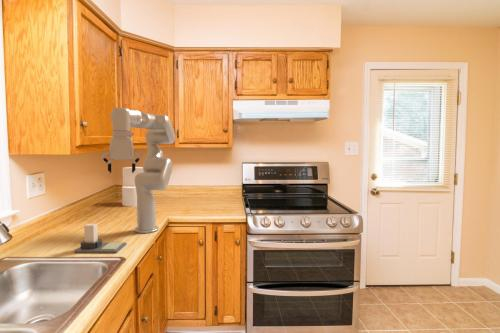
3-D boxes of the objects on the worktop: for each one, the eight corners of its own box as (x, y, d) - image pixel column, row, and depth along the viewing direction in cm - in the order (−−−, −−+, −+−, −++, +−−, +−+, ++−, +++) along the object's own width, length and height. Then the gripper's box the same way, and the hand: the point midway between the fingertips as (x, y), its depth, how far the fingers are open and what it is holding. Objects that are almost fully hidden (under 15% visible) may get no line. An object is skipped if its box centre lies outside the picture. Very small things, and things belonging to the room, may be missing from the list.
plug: (89, 245, 151) (88, 223, 150) (97, 245, 151) (97, 223, 150) (84, 247, 147) (84, 225, 146) (93, 247, 147) (93, 225, 146)
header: (87, 244, 155) (87, 237, 154) (126, 244, 155) (126, 237, 155) (74, 253, 143) (74, 245, 142) (116, 253, 143) (116, 245, 143)
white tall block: (127, 201, 262) (127, 166, 260) (149, 202, 261) (148, 167, 259) (118, 206, 245) (117, 168, 243) (141, 206, 244) (140, 168, 242)
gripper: (140, 135, 157) (141, 171, 158) (101, 134, 151) (101, 172, 152) (142, 135, 150) (142, 172, 151) (100, 134, 144) (100, 173, 145)
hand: (121, 172), depth 151 cm, fingers open, 9 cm apart
